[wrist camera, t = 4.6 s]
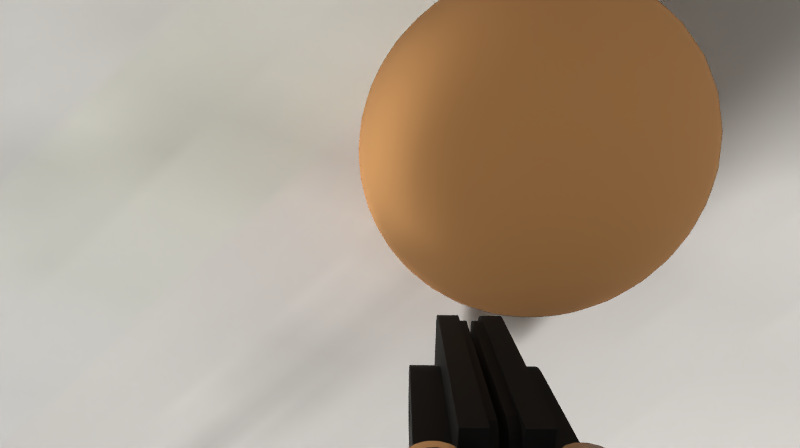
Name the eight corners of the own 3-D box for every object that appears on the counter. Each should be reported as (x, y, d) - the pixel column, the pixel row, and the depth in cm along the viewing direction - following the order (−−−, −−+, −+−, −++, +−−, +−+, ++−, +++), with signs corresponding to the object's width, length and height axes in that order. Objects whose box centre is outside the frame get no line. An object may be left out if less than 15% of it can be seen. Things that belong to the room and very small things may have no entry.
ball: (304, 130, 3) (387, -129, 7) (339, 338, 8) (376, 133, 12) (996, 220, 3) (744, -79, 7) (619, 373, 9) (579, 160, 12)
